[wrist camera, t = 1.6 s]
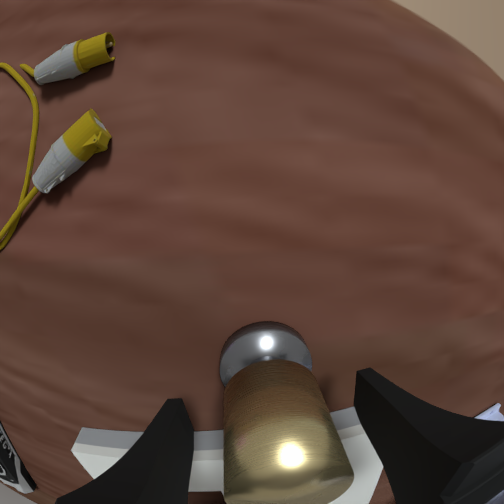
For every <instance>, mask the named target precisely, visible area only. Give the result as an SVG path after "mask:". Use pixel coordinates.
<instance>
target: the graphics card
mask: <svg viewBox="0 0 504 504" xmlns="http://www.w3.org/2000/svg"><path fill="white" fill-rule="evenodd" d="M0 480H1V481H2V482H4V483H6V484H8V485H11V486H13V487H16V489H17V490H19V491H21V492H23V493H30V492H33V491H34V490H35V488H36V483H35V482H34V481H33V479H32V478H31V476H30V475H29V474H28V471H27V470H26V468H25V466H24V464H23V462H22V461H21V459H20V457H19V456H18V454H17V452H16V451H15V449H14V447H13V445H12V443H11V442H10V440H9V438H8V436H7V434H6V432H5V430H4V428H3V426H2V424H1V422H0Z"/></svg>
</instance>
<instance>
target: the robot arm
mask: <svg viewBox="0 0 504 504" xmlns="http://www.w3.org/2000/svg"><path fill="white" fill-rule="evenodd" d="M500 406H501V405H500V404H499V403H497V404H495V405H494V406H492V407H491V408H489V409H488V410H486V411H485V412H483V413H481V414H480V415H478V416H476V417H475V418H472V417H467V416H463V415H459V414H456V413H452V412H449V411H446V410H444V409H441V408H439V407H436V406H434V405H431V404H429V403H427V402H425V401H423V400H421V399H419V398H417V397H415V396H413V395H412V394H410V393H408V392H406V391H405V390H403V389H401V388H400V387H398V386H397V385H395V384H394V383H392V382H391V381H389V380H388V379H386V378H385V377H383V376H382V375H380V374H379V373H377V372H376V371H374V370H373V369H371V368H366V369H363V370H359V371H357V374H356V385H355V396H354V408H355V410H356V413H357V416H358V418H359V421H360V424H361V426H362V427H363V429H364V431H365V433H366V435H367V437H368V439H369V440H370V442H371V444H372V446H373V448H374V449H375V451H376V453H377V455H378V457H379V459H380V460H381V463H382V465H383V467H384V469H385V472H386V475H387V477H388V480H389V483H390V485H391V488H392V491H393V494H394V497H395V501H396V504H504V416H503V415H502V414H501V413H500V412H499V411H498V410H499V408H500ZM193 453H194V429H193V426H192V424H191V421H190V419H189V416H188V413H187V411H186V408H185V405H184V403H183V400H182V398H178V399H167V400H166V402H165V403H164V405H163V406H162V408H161V409H160V411H159V412H158V413H157V415H156V416H155V418H154V419H153V421H152V422H151V423H150V425H149V426H148V427H147V429H146V430H145V431H144V433H143V434H142V435H141V436H140V438H139V439H138V440H137V441H136V442H135V443H134V445H133V446H132V447H131V448H130V449H129V450H128V451H127V452H126V453H125V454H124V455H123V456H122V457H121V458H120V459H119V460H118V461H117V462H116V463H115V464H114V465H113V466H111V467H110V468H109V469H107V470H106V471H105V472H104V473H102V474H101V475H100V476H98V477H97V478H95V479H94V480H92V481H91V482H89V483H87V484H86V485H84V486H82V487H80V488H79V489H77V490H75V491H72V492H70V493H68V494H66V495H64V496H61V497H59V498H57V500H56V502H55V504H188V490H189V482H190V475H191V468H192V461H193Z"/></svg>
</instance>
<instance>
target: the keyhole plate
mask: <svg viewBox="0 0 504 504" xmlns="http://www.w3.org/2000/svg"><path fill="white" fill-rule="evenodd" d="M330 415H331V417H332V420H333V422H334V424H335V427H336V429H337V432H338V434H339V437H340V439H341V442H342V444H343V447H344V449H345V452H346V454H347V457H348V459H349V462H350V464H351V467H352V469H353V472H354V480H353V483H352V484H351V486H350V487H349V489H348V490H347V491H346V492H345V493H344V494H342V495H341V496H340V497H338V498H337V499H335V500H334V501H332V502H330V503H328V504H369V501H370V499H371V497H372V494H373V492H374V490H375V487H376V485H377V482H378V480H379V477H380V474H381V472H382V469H383V465H382V463H381V460H380V459H379V457H378V455H377V453H376V451H375V449H374V448H373V446H372V444H371V442H370V440H369V439H368V437H367V435H366V433H365V431H364V429H363V427H362V426H361V424H360V421H359V418H358V416H357V413H356V410H355V408H354V407H351V408H347V409H343V410H339V411H335V412H331V413H330ZM143 433H144V432H129V431H113V430H102V429H92V428H83V427H82V429H81V431H80V433H79V435H78V437H77V439H76V441H75V443H74V446H73V448H72V450H71V451H72V453H73V454H74V455H75V457H76V458H77V459H78V460H79V462H80V463H81V464H82V465H83V467H84V468H85V469H86V470H87V471H88V473H89V474H90V475H91V476H92V477H93V478H94V479H95V478H97V477H98V476H100V475H101V474H102V473H104V472H105V471H106V470H107V469H109V468H110V467H111V466H113V465H114V464H115V463H116V462H117V461H118V460H119V459H120V458H121V457H122V456H123V455H124V454H125V453H126V452H127V451H128V450H129V449H130V448H131V447H132V446H133V445H134V443H135V442H136V441H137V440H138V439H139V438H140V436H141V435H142V434H143ZM201 491H221V492H222V494H223V496H224V469H223V430H215V431H199V432H194V453H193V461H192V468H191V475H190V482H189V490H188V492H201Z"/></svg>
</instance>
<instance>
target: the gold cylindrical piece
mask: <svg viewBox="0 0 504 504" xmlns="http://www.w3.org/2000/svg"><path fill="white" fill-rule="evenodd" d="M311 369H312V358H311V355H310V352H309V350H308V348H307V346H306V343H305V341H304V339H303V338H302V336H301V335H300V334H299V333H298V332H297V331H296V330H294V329H293V328H291V327H290V326H288V325H285V324H282V323H278V322H272V321H263V322H256V323H252V324H249V325H246V326H244V327H242V328H240V329H239V330H237V331H236V332H234V333H233V334H232V335H231V336H230V337H229V338H228V339H227V341H226V342H225V344H224V346H223V348H222V351H221V356H220V377H221V380H222V382H223V384H224V386H225V387H226V388H225V391H224V422H223V469H224V500H225V502H226V503H227V504H328V503H330V502H332V501H334V500H335V499H337V498H338V497H340V496H341V495H342V494H344V493H345V492H346V491H347V490H348V489H349V487H350V486H351V484H352V483H353V480H354V472H353V469H352V467H351V464H350V462H349V459H348V457H347V454H346V452H345V449H344V447H343V444H342V442H341V439H340V437H339V434H338V432H337V429H336V427H335V424H334V422H333V420H332V417H331V415H330V412H329V410H328V407H327V405H326V402H325V400H324V398H323V395H322V393H321V390H320V388H319V385H318V383H317V380H316V378H315V376H314V375H313V374H312V372H311Z"/></svg>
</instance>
